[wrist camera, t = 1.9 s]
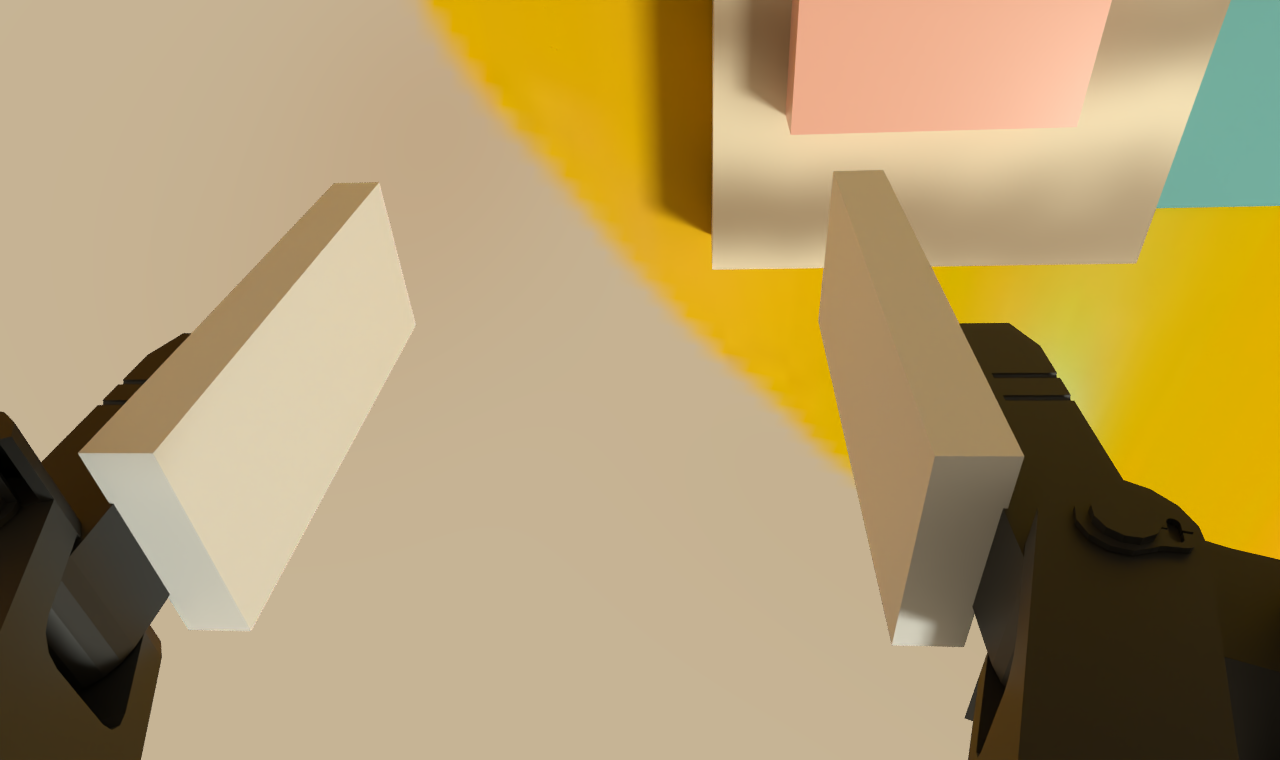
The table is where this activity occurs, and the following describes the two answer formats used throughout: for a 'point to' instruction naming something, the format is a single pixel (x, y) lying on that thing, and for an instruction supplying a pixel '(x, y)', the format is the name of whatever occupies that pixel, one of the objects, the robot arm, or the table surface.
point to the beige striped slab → (959, 152)
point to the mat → (1234, 118)
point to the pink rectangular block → (940, 64)
